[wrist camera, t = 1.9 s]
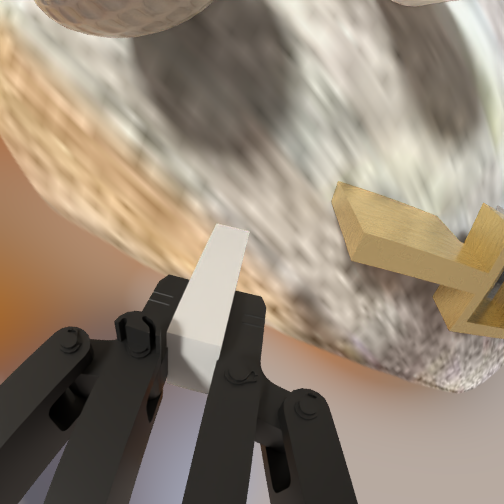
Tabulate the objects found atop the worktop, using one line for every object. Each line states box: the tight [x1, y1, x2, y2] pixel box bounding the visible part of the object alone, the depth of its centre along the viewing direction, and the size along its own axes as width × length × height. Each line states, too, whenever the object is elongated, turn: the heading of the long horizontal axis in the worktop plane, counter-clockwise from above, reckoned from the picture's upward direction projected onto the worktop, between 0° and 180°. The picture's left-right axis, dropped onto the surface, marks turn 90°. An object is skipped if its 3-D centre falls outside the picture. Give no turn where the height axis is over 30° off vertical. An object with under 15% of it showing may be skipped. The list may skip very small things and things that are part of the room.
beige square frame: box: [331, 181, 504, 339], centre depth 21 cm, size 10×22×10 cm, turn 78°
